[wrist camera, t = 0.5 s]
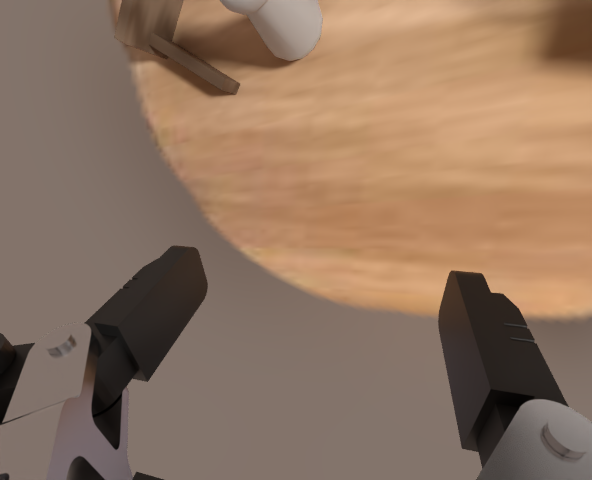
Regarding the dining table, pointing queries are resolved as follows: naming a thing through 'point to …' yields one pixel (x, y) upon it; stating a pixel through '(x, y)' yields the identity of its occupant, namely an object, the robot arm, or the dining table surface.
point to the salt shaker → (283, 24)
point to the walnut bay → (164, 37)
